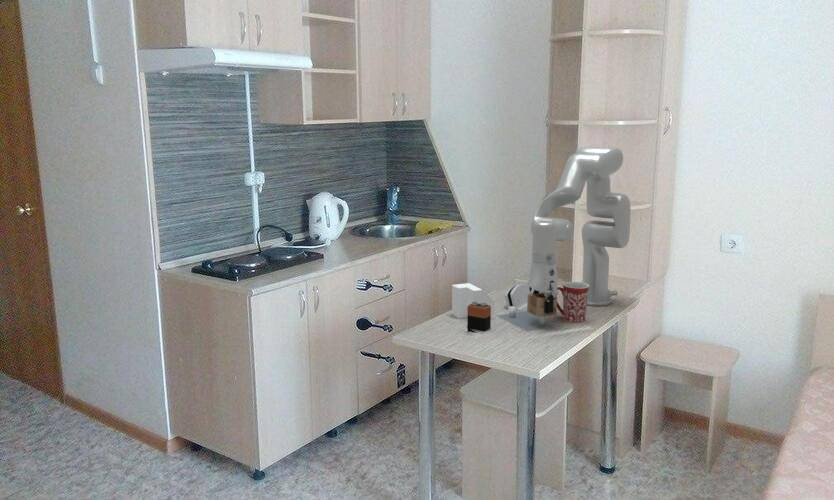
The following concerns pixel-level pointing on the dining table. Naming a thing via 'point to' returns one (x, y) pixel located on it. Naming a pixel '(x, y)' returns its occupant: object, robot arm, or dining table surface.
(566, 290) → the mug
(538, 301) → the brown wooden hollow block
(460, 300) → the corner bracket
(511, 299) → the grey electronic device
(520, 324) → the peg stand
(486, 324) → the battery
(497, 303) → the dining table surface
